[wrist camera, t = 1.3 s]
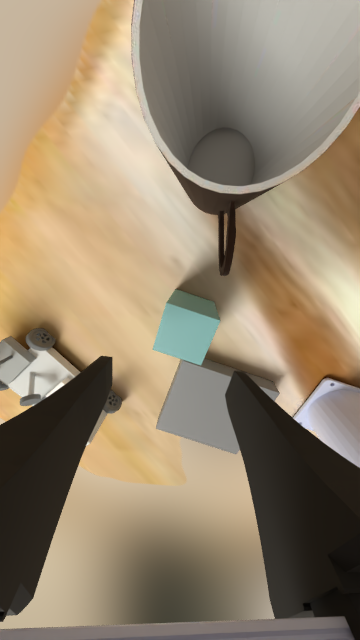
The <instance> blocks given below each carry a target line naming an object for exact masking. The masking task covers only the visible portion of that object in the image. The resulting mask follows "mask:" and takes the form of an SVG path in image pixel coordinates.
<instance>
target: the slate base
mask: <svg viewBox="0 0 360 640" xmlns="http://www.w3.org/2000/svg"><path fill="white" fill-rule="evenodd" d="M234 371H240V370H237V369H234V368H231V367H228V366H225V365H223V364H220V363H217V362H214V361H211V360H208V359H205V358H204V360H203V362H202V364H201V365H198V364H195V363H192V362H189V361H186V360H183V359H181V360H180V363H179V365H178V368H177V371H176V373H175V376H174V378H173V381H172V383H171V386H170V389H169V391H168V394H167V396H166V399H165V402H164V404H163V407H162V409H161V412H160V414H159V418H158V422H157V426H156V429H159V430H162V431H165V432H168V433H171V434H174V435H177V436H180V437H184V438H187V439H190V440H193V441H196V442H199V443H202V444H205V445H208V446H212V447H215V448H218V449H221V450H224V451H227V452H230V453H233V454H237V453H238V451H239V450H240V448H239V444H238V441H237V438H236V435H235V432H234V429H233V426H232V423H231V420H230V417H229V413H228V409H227V404H226V399H225V393H226V391H227V388H228V385H229V383H230V380H231V377H232V375H233V372H234ZM242 372H243V371H242ZM245 373H246V372H245ZM246 374H247V375H248V376H249V377H250V378H251V379H252V380H253V381H254V382H255V383H256V384H257V385H258V386H259V387H260V388H261V389H262V390H263V391H264V392H265V393H266V394H267V395H268V396H269V397H270V398H271V399H272V400H273V401H275V399H276V398H277V396H278V395H279V394H280V393H279V391H278V389H277V388H276V386H275V384H274V382H273V381H270V380H267V379H264V378H261V377H258V376H255V375H252V374H249V373H246Z"/></svg>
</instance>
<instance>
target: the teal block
mask: <svg viewBox="0 0 360 640" xmlns="http://www.w3.org/2000/svg"><path fill="white" fill-rule="evenodd" d="M219 323H220V318H219V315H218V312H217V309H216V306H215V303H214V302H213V301H210V300H207V299H204V298H201V297H198V296H195V295H192V294H189V293H186V292H183V291H180V290H177V289H175V291H174V292H173V294H172V295H171V297H170V298H169V300H168V301H167V303H166V306H165V309H164V313H163V316H162V320H161V323H160V326H159V330H158V333H157V336H156V340H155V343H154V347H153V350H155V351H158V352H161V353H164V354H167V355H170V356H173V357H177V358H180V359H183V360H186V361H189V362H192V363H195V364H198V365H201V364H202V362H203V360H204V357H205V355H206V353H207V350H208V348H209V346H210V344H211V341H212V339H213V337H214V334H215V332H216V330H217V328H218V325H219Z"/></svg>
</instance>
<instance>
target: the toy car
mask: <svg viewBox="0 0 360 640" xmlns="http://www.w3.org/2000/svg"><path fill="white" fill-rule="evenodd" d="M55 342H56V339H55V338H54V337H52V336H51V335H50V334H48V332H47V331H46V330H45V329H42V328H36V329H33V330H31V331H30V332H29V333H28V334H27V336H26V343H27V344H28V346H29V347H31V348H30V349H29V350H27V349H25V348H24V347H23V346H22V345H21V344H19V343H18V342H17V341H16V340H15V339H14V338H12V337H11V336H10V337H8V338H5V339H3V340H2V341H1V342H0V391H1V390H6V389H8V388H10V389H12V390H13V391H14V392H16V393H17V394H18V395H20V396H21V397H22V398H21V399H20V405H21V406H29V405H32V406H34V405H36V404H37V403H39V402H40V401H42V400H43V399H45V398H46V397H48V396H49V395H51V394H52V393H54V392H55V391H56V390H58V389H59V388H61V387H62V386H64V385H65V384H66V383H68V382H69V381H70V380H72V379H73V378H74V377H75V376H77V375H78V374H79V373H81V372H80V371H78V370H77V369H76V368H75V367H74V366H73V365H72V364H70V363H69V362H68V361H67V360H66V359H65V358H64V357H63V356H61V355H60V354H59V353H58V352H57V351H56V350H55V349H54V348H52V346H53V345H54V344H55ZM121 405H122V399H121V398H120V397H119V396H117V395H116V394H115V393H114V392H113V391H112V390H110V393H109V396H108V399H107V401H106V404H105V406H104V408H103V410H102V412H101V415H100V417H99V419H98V421H97V423H96V425H95V427H94V430H93V432H92V434H91V436H90V438H89V440H88V442H87V445H89V444H90V443H91V441H92V440H93V438H94V436H95V434H96V433H97V431H98V429H99V427H100V426H101V424H102V422H103V420H104V419H105V417H106V415H107V414H108V413H114V412H116V411H118V410H119V409H120V407H121ZM87 445H86V446H87Z"/></svg>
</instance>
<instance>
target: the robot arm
mask: <svg viewBox="0 0 360 640" xmlns="http://www.w3.org/2000/svg"><path fill="white" fill-rule="evenodd" d="M331 383H332V384H331ZM111 387H112V357H107V356H101V357H99V358H98V359H97V360H95V361H94V362H93V363H92V364H91V365H89V366H88V367H87V368H86V369H84V370H83V371H82V372H81V373H79V374H78V375H77V376H75V377H74V378H73V379H72V380H70V381H69V382H68V383H66V384H65V385H64V386H62V387H61V388H59V389H58V390H56V391H55V392H54V393H52V394H51V395H49V396H48V397H46V398H45V399H43V400H42V401H40V402H39V403H37V404H36V405H34V406H32V407H31V408H29V409H28V410H26V411H24V412H23V413H21V414H19V415H17V416H16V417H14V418H12V419H10V420H8V421H7V422H5V423H3V424H1V425H0V622H3V620H4V619H5V617H6V616H7V615H18V614H19V613H20V612H21V611H22V610H23V609H24V608H25V607H26V606H27V605H28V604H29V602H30V601H31V600H32V599H33V597H34V593H35V590H36V587H37V584H38V581H39V578H40V575H41V572H42V569H43V566H44V562H45V560H46V556H47V553H48V550H49V547H50V544H51V541H52V538H53V535H54V532H55V530H56V527H57V524H58V521H59V518H60V515H61V512H62V509H63V506H64V503H65V501H66V498H67V495H68V492H69V489H70V486H71V484H72V481H73V478H74V475H75V473H76V470H77V467H78V465H79V462H80V459H81V457H82V454H83V452H84V449H85V447H86V445H87V442H88V440H89V438H90V436H91V434H92V432H93V430H94V427H95V425H96V423H97V421H98V419H99V417H100V415H101V412H102V410H103V408H104V406H105V404H106V401H107V399H108V396H109V393H110V390H111ZM225 399H226V404H227V409H228V413H229V417H230V420H231V423H232V426H233V429H234V432H235V435H236V438H237V441H238V444H239V448H240V451H241V453H242V457H243V460H244V464H245V468H246V472H247V477H248V481H249V485H250V490H251V495H252V500H253V504H254V509H255V514H256V519H257V524H258V530H259V535H260V540H261V546H262V552H263V558H264V564H265V570H266V577H267V582H268V590H269V597H270V601H271V605H272V609H273V613H274V617H275V619H262V620H235V621H209V622H183V623H157V624H156V623H155V624H129V625H102V626H76V627H48V628H22V629H0V640H360V388H357V387H354V386H351V385H348V384H345V383H342V382H339V381H336V380H333V379H330V378H325V379H323V380H322V382H321V383H320V384H319V385H318V387H317V388H316V389H315V391H314V392H313V393H312V394H311V396H310V397H309V398H308V399H307V401H306V402H305V403H304V404H303V406H302V407H301V408H300V410H299V411H298V412H297V413H296V415H295V416H294V417H293V418H292V417H291V416H290V415H289V414H288V413H286V412H285V411H284V410H283V409H282V408H281V407H280V406H279V405H278V404H277V403H275V402H274V401H273V400H272V399H271V398H270V397H269V396H268V395H267V394H266V393H265V392H264V391H263V390H262V389H261V388H260V387H259V386H258V385H257V384H256V383H255V382H254V381H253V380H252V379H251V378H250V377H249V376H248V375H247V374H246V373H245V372H242V371H234V372H233V375H232V377H231V380H230V383H229V385H228V388H227V391H226V393H225ZM305 428H306V429H305ZM307 429H309V430H312V431H315V433H316V434H317V436H318V437H319V439H320V440H319V439H318V438H317V437H315V436H314V435H313V434H312V433H310V432H309V431H308V430H307Z"/></svg>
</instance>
